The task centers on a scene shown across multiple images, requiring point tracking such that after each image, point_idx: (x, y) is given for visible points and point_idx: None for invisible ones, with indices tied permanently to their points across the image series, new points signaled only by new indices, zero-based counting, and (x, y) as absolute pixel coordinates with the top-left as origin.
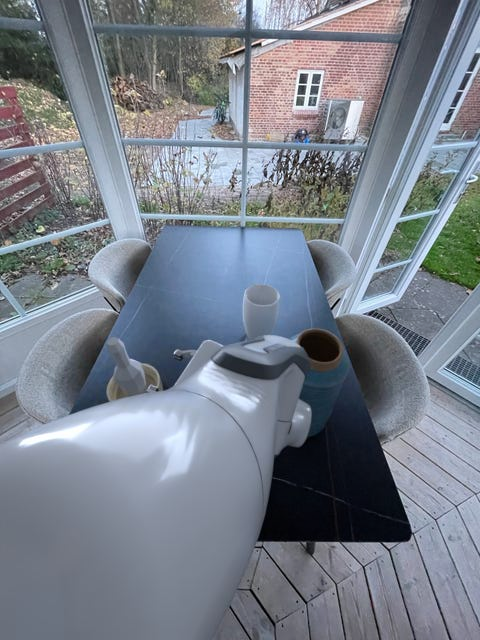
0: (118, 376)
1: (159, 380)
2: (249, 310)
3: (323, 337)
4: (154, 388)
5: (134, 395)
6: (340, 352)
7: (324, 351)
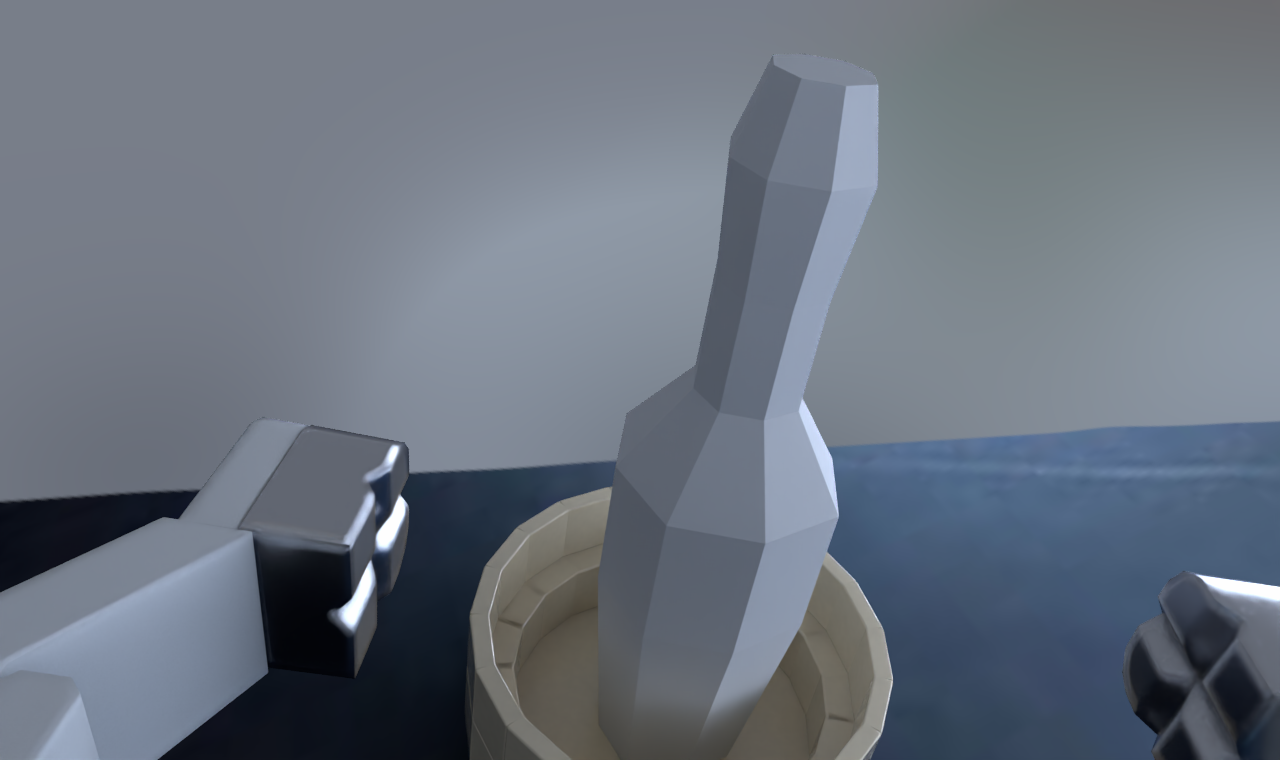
0: (638, 424)
1: None
2: None
3: None
4: (318, 506)
5: (608, 674)
6: None
7: None
